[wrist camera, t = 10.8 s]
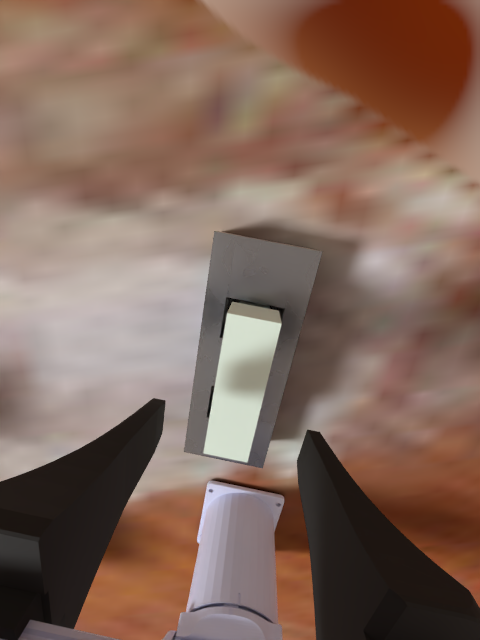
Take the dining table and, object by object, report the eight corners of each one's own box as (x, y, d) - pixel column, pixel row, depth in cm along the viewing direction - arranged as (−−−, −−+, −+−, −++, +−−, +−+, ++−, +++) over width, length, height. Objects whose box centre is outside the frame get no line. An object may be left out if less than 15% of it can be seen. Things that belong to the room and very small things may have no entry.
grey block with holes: (262, 441, 24) (262, 468, 22) (193, 426, 25) (183, 451, 22) (313, 249, 19) (322, 251, 16) (221, 231, 19) (214, 231, 16)
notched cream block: (251, 402, 23) (247, 462, 17) (218, 395, 23) (203, 453, 17) (275, 296, 20) (281, 323, 14) (237, 288, 20) (227, 312, 14)
